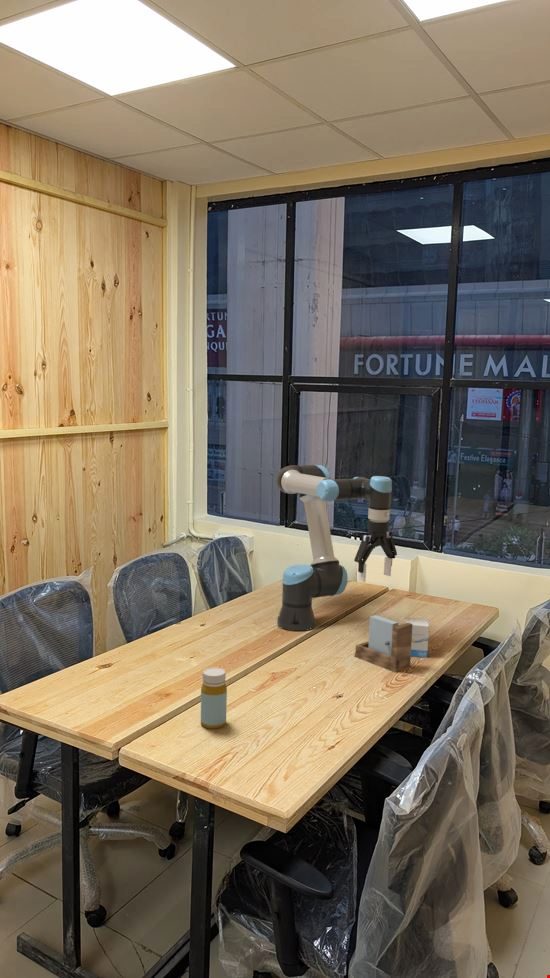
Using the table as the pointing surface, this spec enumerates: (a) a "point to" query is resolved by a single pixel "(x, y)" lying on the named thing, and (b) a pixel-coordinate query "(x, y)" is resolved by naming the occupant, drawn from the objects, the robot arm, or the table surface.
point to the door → (381, 634)
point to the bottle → (213, 698)
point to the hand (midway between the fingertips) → (374, 578)
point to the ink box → (419, 636)
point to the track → (398, 653)
